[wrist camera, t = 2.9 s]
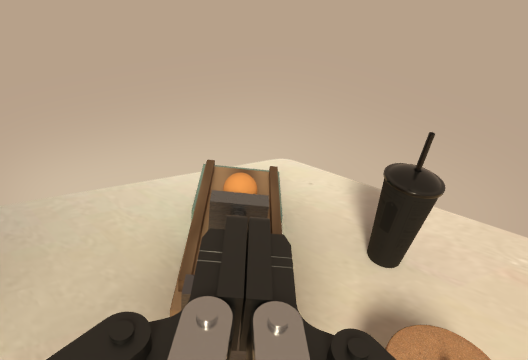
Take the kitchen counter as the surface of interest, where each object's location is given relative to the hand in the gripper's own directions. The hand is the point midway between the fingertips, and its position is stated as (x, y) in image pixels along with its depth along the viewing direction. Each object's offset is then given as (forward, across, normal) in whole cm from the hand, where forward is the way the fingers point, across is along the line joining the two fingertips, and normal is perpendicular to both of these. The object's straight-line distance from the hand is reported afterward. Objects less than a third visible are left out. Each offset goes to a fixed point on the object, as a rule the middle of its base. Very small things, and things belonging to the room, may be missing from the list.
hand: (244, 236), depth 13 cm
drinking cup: (+31, -22, +28) cm, 48 cm away
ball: (+27, 0, +16) cm, 32 cm away
